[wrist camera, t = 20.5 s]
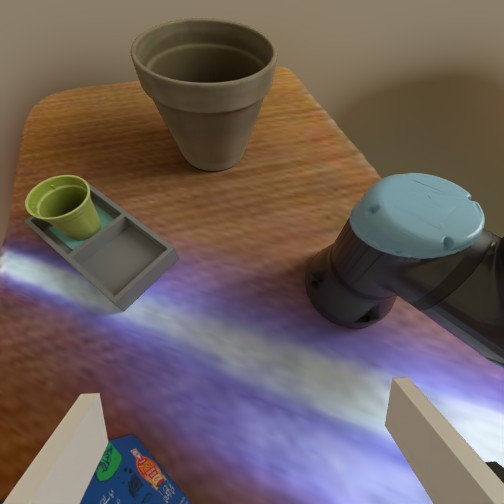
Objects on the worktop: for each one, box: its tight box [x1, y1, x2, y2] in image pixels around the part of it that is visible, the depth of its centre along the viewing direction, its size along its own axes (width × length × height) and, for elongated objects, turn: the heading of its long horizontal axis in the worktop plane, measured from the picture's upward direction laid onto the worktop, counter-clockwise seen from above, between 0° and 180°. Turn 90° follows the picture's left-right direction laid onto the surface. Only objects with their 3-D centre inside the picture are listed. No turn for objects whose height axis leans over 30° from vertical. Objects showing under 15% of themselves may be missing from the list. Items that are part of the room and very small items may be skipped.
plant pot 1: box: [25, 175, 101, 240], centre depth 46 cm, size 9×9×9 cm
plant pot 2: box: [131, 18, 277, 171], centre depth 55 cm, size 25×25×22 cm
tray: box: [24, 182, 179, 311], centre depth 48 cm, size 13×25×4 cm, turn 53°
